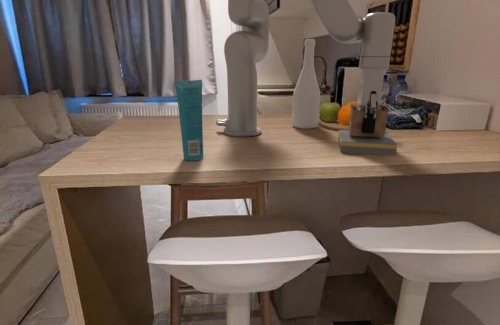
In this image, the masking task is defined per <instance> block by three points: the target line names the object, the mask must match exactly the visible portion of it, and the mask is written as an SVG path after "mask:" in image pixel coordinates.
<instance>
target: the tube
mask: <svg viewBox="0 0 500 325" xmlns="http://www.w3.org/2000/svg"><path fill="white" fill-rule="evenodd" d="M174 85H175V93H176V99H177V100H176V101H177V107H178V115H179V123H180V133H181V142H182V153H183V159H184V160H185V161H190V162H191V161H192V162H193V161H200V160H202V159H203V158H204V140H203V139H204V135H203V133H204V131H203V80H202V79H192V80H175V81H174Z"/></svg>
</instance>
